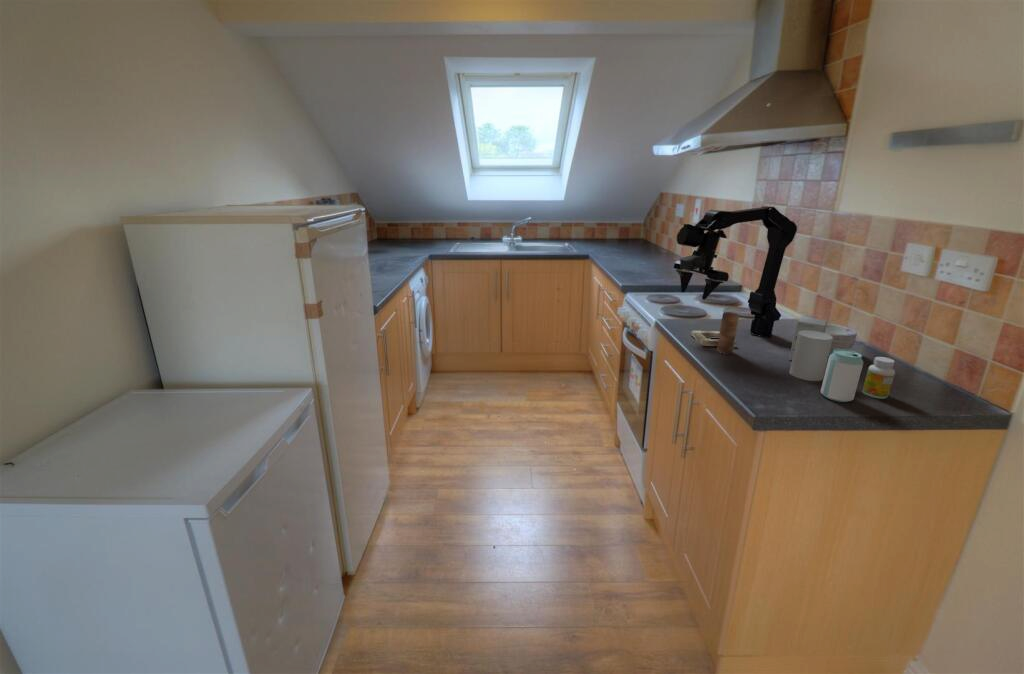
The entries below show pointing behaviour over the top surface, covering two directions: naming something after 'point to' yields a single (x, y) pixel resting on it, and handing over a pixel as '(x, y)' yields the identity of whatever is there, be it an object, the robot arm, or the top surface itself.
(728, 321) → the cherry wood peg
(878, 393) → the supplement bottle
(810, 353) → the cup
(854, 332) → the paper bowls
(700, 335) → the birch hole board
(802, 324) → the supplement box
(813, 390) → the top surface
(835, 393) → the can
